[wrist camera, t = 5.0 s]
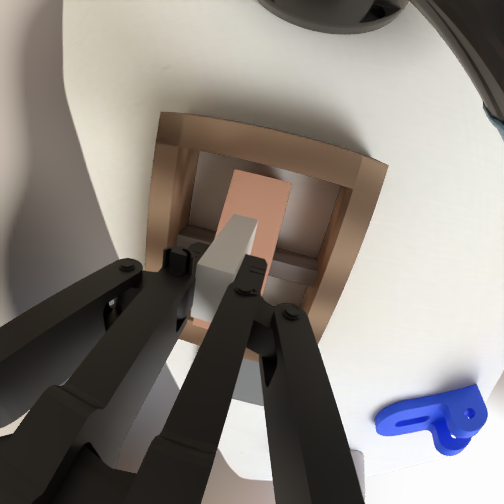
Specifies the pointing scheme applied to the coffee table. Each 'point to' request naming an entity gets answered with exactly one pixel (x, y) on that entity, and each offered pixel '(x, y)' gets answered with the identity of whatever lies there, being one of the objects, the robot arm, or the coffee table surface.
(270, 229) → the terracotta block
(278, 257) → the brown wooden frame
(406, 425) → the bracket
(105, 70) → the coffee table surface
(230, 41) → the coffee table surface
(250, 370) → the rubber pad
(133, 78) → the coffee table surface
